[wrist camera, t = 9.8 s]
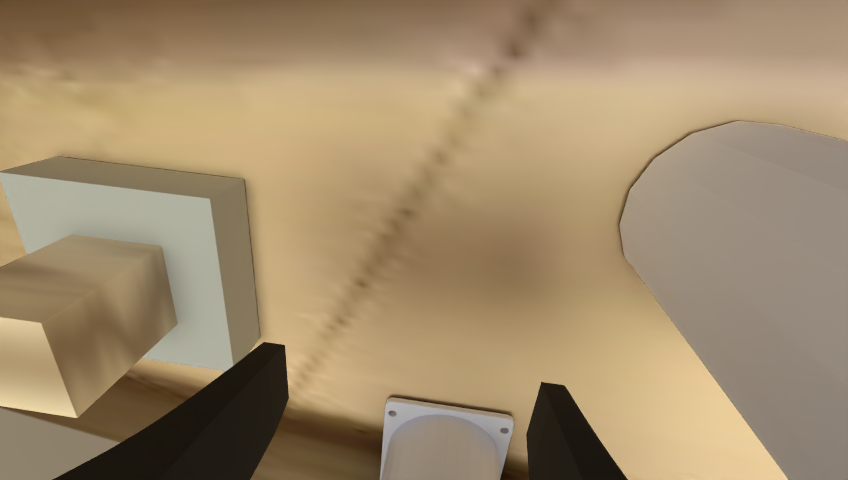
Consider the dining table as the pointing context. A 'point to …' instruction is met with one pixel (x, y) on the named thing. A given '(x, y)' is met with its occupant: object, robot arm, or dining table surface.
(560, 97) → the dining table surface
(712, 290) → the soap bottle
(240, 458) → the robot arm
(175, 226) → the base
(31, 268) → the block
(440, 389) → the dining table surface
